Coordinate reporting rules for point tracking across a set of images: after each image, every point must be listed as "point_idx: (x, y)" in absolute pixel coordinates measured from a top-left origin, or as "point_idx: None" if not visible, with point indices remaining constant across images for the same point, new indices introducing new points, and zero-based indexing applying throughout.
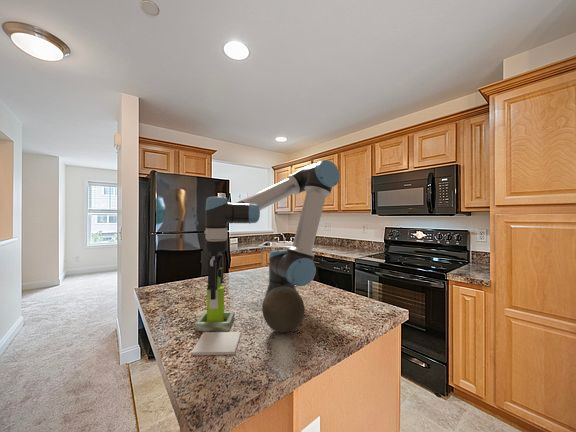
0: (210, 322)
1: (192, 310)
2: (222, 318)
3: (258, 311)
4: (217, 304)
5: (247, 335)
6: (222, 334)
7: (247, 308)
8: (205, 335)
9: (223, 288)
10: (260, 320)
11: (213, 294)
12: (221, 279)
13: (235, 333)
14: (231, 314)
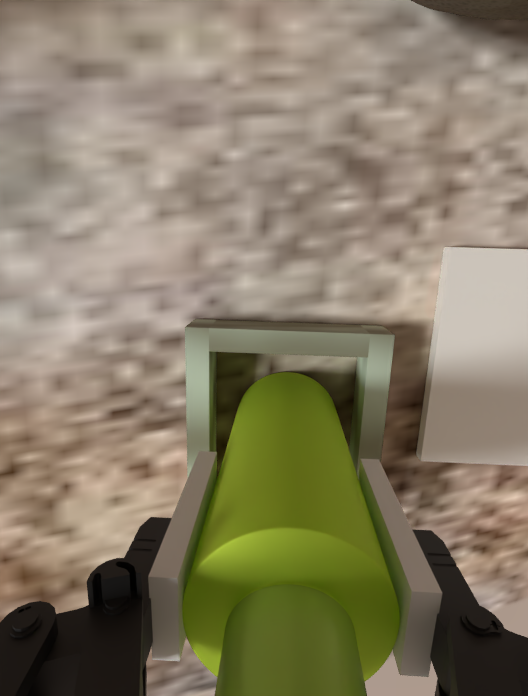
0: (367, 453)
1: (76, 581)
2: (310, 391)
3: (67, 148)
4: (385, 477)
5: (464, 201)
6: (465, 355)
7: (13, 243)
8: (461, 444)
9: (310, 524)
10: (239, 122)
11: (460, 587)
12: (141, 648)
13: (467, 278)
14: (241, 340)
